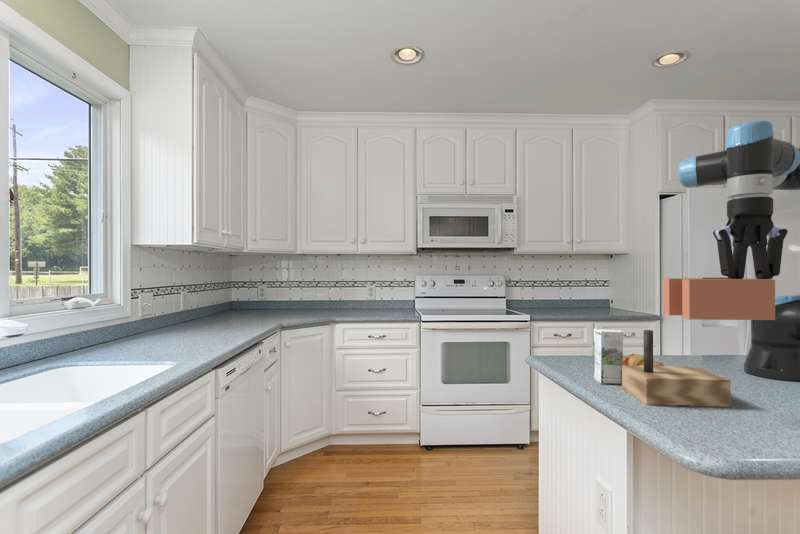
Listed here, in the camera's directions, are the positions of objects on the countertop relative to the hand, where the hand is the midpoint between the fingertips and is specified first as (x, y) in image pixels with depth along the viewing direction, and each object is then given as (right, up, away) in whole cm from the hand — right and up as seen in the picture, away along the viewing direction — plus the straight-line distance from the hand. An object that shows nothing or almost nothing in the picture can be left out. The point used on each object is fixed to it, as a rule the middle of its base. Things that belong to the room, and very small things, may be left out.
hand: (750, 310), depth 89 cm
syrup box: (-16, -23, +27) cm, 39 cm away
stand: (-8, -22, +14) cm, 27 cm away
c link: (-7, -2, +1) cm, 7 cm away
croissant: (-5, -23, +32) cm, 40 cm away
